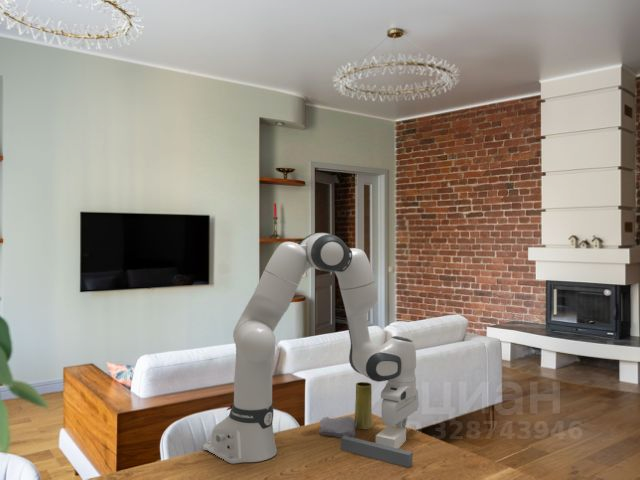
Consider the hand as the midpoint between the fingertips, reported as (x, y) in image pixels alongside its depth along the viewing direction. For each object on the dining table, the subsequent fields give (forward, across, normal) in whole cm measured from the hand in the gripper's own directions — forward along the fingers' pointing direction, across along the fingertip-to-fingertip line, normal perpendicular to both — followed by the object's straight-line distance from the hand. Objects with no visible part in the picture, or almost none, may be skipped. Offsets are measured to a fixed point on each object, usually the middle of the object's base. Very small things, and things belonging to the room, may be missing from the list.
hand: (400, 431), depth 173 cm
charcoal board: (+2, +18, 0) cm, 18 cm away
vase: (+2, -2, -15) cm, 15 cm away
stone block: (+3, +7, -19) cm, 21 cm away
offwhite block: (+2, +7, 0) cm, 7 cm away
